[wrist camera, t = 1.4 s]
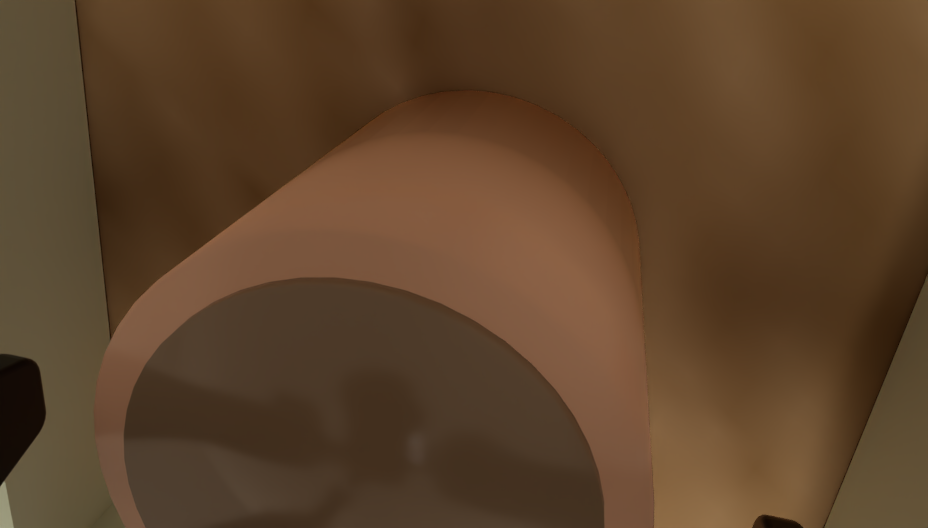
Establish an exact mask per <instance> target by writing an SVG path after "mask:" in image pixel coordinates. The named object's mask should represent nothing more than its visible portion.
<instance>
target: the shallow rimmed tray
mask: <svg viewBox="0 0 928 528" xmlns="http://www.w3.org/2000/svg"><path fill="white" fill-rule="evenodd" d="M109 343H110V332H109V323H108V313H107V303H106V294H105V284H104V275H103V265H102V256H101V246H100V237H99V227H98V218H97V208H96V199H95V189H94V180H93V170H92V161H91V151H90V141H89V132H88V122H87V113H86V103H85V94H84V84H83V75H82V65H81V56H80V46H79V37H78V27H77V18H76V8H75V0H0V354H12V355H16V356H21V357H26V358H30V359H32V360H34V361H35V362H36V363H37V364H38V366H39V368H40V372H41V379H42V386H43V392H44V399H45V406H46V419H45V422H44V425H43V427H42V430H41V431H40V433H39V434H38V436H37V437H36V438H35V440H34V441H33V443H32V444H31V445H30V447H29V448H28V449H27V451H26V452H25V453H24V455H23V456H22V458H21V459H20V460H19V462H18V463H17V464H16V466H15V467H14V469H13V470H12V471H11V473H10V474H9V475H8V477H7V478H6V479H5V481H4V482H3V484H2V485H1V486H0V528H126V527H125V526H124V524H123V522H122V520H121V518H120V516H119V514H118V512H117V510H116V507H115V505H114V503H113V501H112V499H111V497H110V494H109V491H108V488H107V485H106V482H105V479H104V476H103V473H102V470H101V467H100V462H99V457H98V452H97V446H96V441H95V427H94V403H95V393H96V384H97V379H98V375H99V372H100V368H101V364H102V361H103V357H104V354H105V351H106V349H107V347H108V345H109ZM824 528H928V275H927V277H926V280H925V282H924V285H923V287H922V289H921V292H920V294H919V297H918V299H917V302H916V304H915V307H914V309H913V311H912V314H911V316H910V319H909V321H908V324H907V326H906V329H905V331H904V334H903V336H902V338H901V341H900V343H899V346H898V348H897V351H896V353H895V356H894V358H893V360H892V363H891V365H890V368H889V370H888V373H887V375H886V378H885V380H884V382H883V385H882V387H881V390H880V392H879V395H878V397H877V400H876V402H875V404H874V407H873V409H872V412H871V414H870V417H869V419H868V422H867V424H866V427H865V429H864V431H863V434H862V436H861V439H860V441H859V444H858V446H857V449H856V451H855V453H854V456H853V458H852V461H851V463H850V466H849V468H848V471H847V473H846V475H845V478H844V480H843V483H842V485H841V488H840V490H839V493H838V495H837V498H836V500H835V502H834V505H833V507H832V510H831V512H830V515H829V517H828V520H827V522H826V524H825V527H824Z"/></svg>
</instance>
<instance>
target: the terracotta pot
mask: <svg viewBox="0 0 928 528" xmlns="http://www.w3.org/2000/svg"><path fill="white" fill-rule="evenodd" d="M94 427H95V441H96V446H97V452H98V457H99V462H100V467H101V470H102V473H103V476H104V479H105V482H106V485H107V488H108V491H109V494H110V497H111V499H112V501H113V503H114V505H115V507H116V510H117V512H118V514H119V516H120V518H121V520H122V522H123V524H124V526H125V527H126V528H654V490H653V473H652V455H651V438H650V420H649V403H648V385H647V368H646V350H645V333H644V315H643V298H642V281H641V263H640V246H639V238H638V231H637V223H636V220H635V216H634V213H633V210H632V206H631V203H630V200H629V198H628V196H627V194H626V192H625V189H624V187H623V185H622V183H621V181H620V179H619V178H618V176H617V175H616V173H615V171H614V170H613V168H612V167H611V165H610V163H609V162H608V161H607V160H606V159H605V157H604V156H603V155H602V154H601V153H600V151H599V150H598V149H597V148H596V147H595V145H594V144H592V143H591V142H590V141H589V140H588V139H587V138H586V137H585V136H584V135H583V134H582V133H580V132H579V131H578V130H577V129H576V128H574V127H573V126H571V125H570V124H569V123H567V122H566V121H564V120H563V119H561V118H560V117H558V116H557V115H555V114H553V113H551V112H549V111H547V110H545V109H543V108H541V107H539V106H537V105H535V104H532V103H529V102H527V101H524V100H521V99H518V98H516V97H512V96H507V95H503V94H498V93H493V92H485V91H472V90H462V91H444V92H439V93H434V94H429V95H424V96H420V97H417V98H415V99H412V100H409V101H406V102H403V103H401V104H399V105H397V106H395V107H393V108H391V109H389V110H387V111H385V112H383V113H382V114H380V115H379V116H377V117H376V118H374V119H373V120H372V121H370V122H369V123H367V124H366V125H365V126H363V127H362V128H361V129H359V130H358V131H357V132H355V133H354V134H352V135H351V136H350V137H348V138H347V139H346V140H344V141H343V142H342V143H340V144H339V145H338V146H336V147H335V148H334V149H332V150H331V151H330V152H328V153H327V154H326V155H324V156H323V157H322V158H320V159H319V160H318V161H316V162H315V163H314V164H312V165H311V166H310V167H308V168H307V169H306V170H304V171H303V172H302V173H300V174H299V175H298V176H296V177H295V178H294V179H292V180H291V181H289V182H288V183H287V184H285V185H284V186H283V187H281V188H280V189H279V190H277V191H276V192H275V193H273V194H272V195H271V196H269V197H268V198H267V199H265V200H264V201H263V202H261V203H260V204H259V205H257V206H256V207H255V208H253V209H252V210H251V211H249V212H248V213H247V214H245V215H244V216H243V217H241V218H240V219H239V220H237V221H236V222H235V223H233V224H232V225H231V226H229V227H228V228H227V229H225V230H224V231H222V232H221V233H220V234H218V235H217V236H216V237H214V238H213V239H212V240H210V241H209V242H208V243H206V244H205V245H204V246H202V247H201V248H200V249H198V250H197V251H196V252H194V253H193V254H192V255H190V256H189V257H188V258H186V259H185V260H184V261H182V262H181V263H180V264H178V265H177V266H176V267H174V268H173V269H172V270H170V271H169V272H168V273H166V274H165V275H164V276H162V277H161V278H159V279H158V280H157V281H156V282H155V283H154V284H153V285H152V286H151V287H150V288H149V289H148V290H147V291H146V292H145V293H144V294H143V295H142V296H141V297H140V298H139V299H138V300H137V301H136V302H135V303H134V304H133V305H132V307H131V308H130V310H129V311H128V312H127V314H126V315H125V317H124V318H123V319H122V321H121V322H120V324H119V325H118V326H117V328H116V330H115V332H114V335H113V337H112V339H111V341H110V343H109V345H108V347H107V349H106V351H105V354H104V357H103V361H102V364H101V368H100V372H99V375H98V379H97V384H96V393H95V403H94Z"/></svg>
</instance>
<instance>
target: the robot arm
mask: <svg viewBox="0 0 928 528" xmlns="http://www.w3.org/2000/svg"><path fill="white" fill-rule="evenodd" d="M45 419H46V406H45V399H44V392H43V386H42V379H41V372H40V368H39V366H38V364H37V363H36V362H35V361H34V360H32V359H30V358H26V357H21V356H16V355H12V354H0V486H1V485H2V484H3V482H4V481H5V479H6V478H7V477H8V475H9V474H10V473H11V471H12V470H13V469H14V467H15V466H16V464H17V463H18V462H19V460H20V459H21V458H22V456H23V455H24V453H25V452H26V451H27V449H28V448H29V447H30V445H31V444H32V443H33V441H34V440H35V438H36V437H37V436H38V434H39V433H40V431H41V430H42V427H43V425H44V422H45ZM752 528H803V527H802V526H801V525H800V524H799V523H797V522H796V521H793V520H789V519H784V518H780V517H775V516H770V515H761V516H759V517H758V518H757V519H756V521H755V522H754V525H753V527H752Z"/></svg>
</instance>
